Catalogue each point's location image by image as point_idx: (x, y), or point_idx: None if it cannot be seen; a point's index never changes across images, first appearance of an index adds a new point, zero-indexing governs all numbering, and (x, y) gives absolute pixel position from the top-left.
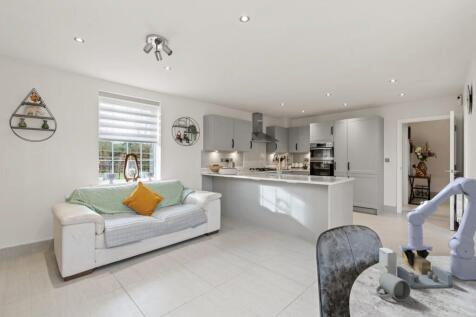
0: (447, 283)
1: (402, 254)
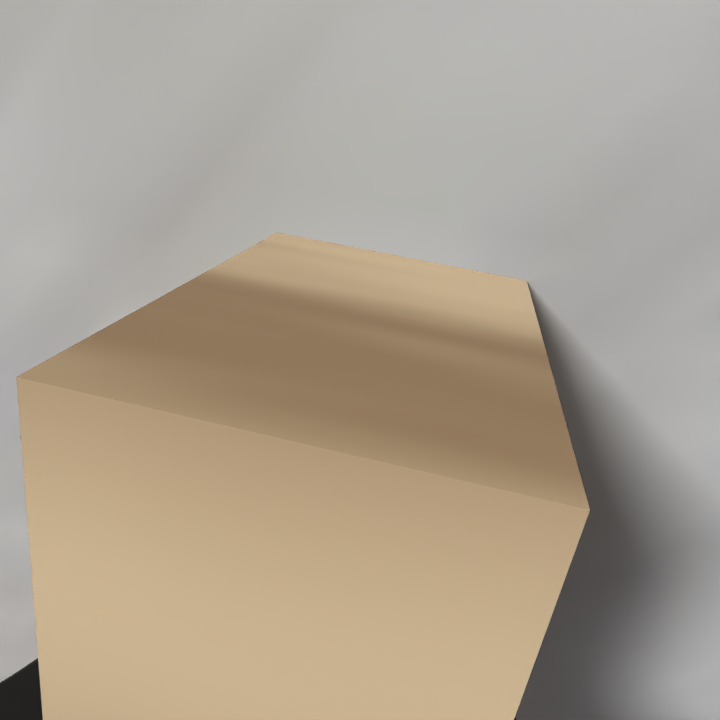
0: None
1: (140, 314)
